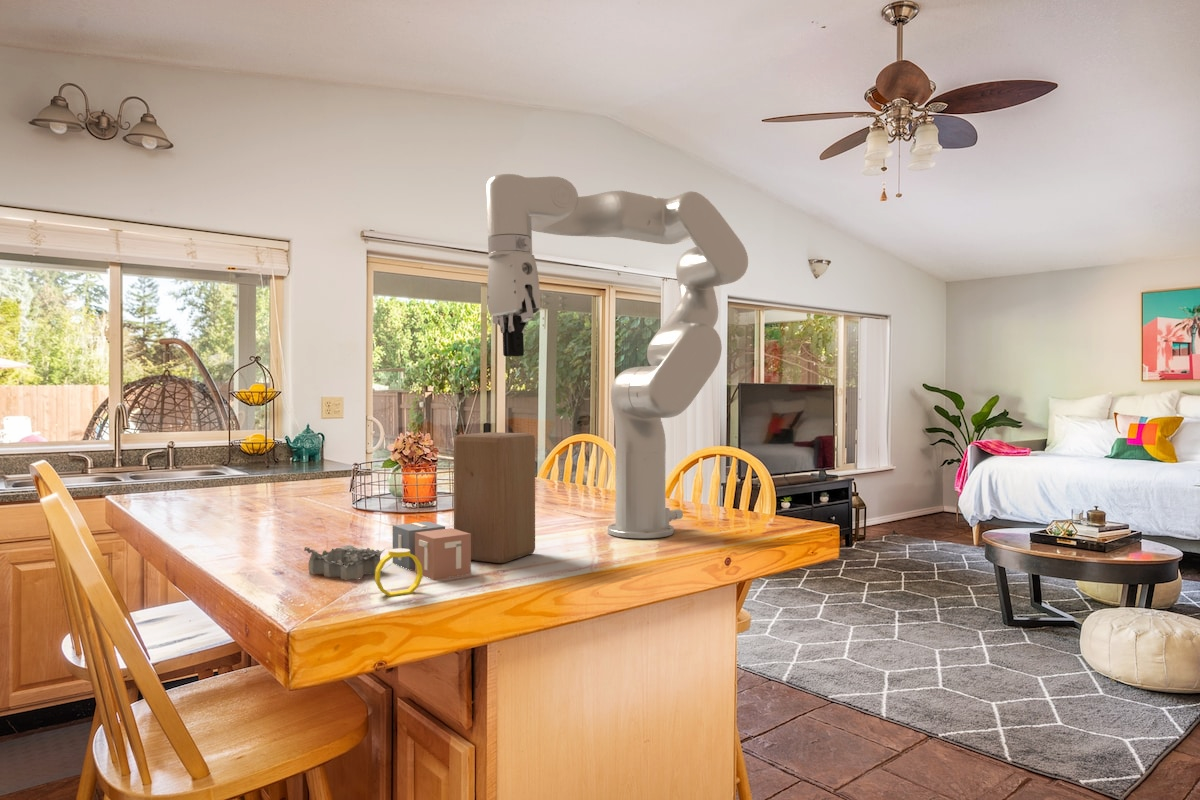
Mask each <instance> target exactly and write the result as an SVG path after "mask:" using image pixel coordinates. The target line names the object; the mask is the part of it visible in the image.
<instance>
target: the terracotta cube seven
mask: <svg viewBox="0 0 1200 800" xmlns="http://www.w3.org/2000/svg"><path fill="white" fill-rule="evenodd" d="M415 556H416V557H417V559H418V560H419V562H420V563H421V566H422V573H423V575H422V577H425V578H427V577H428V578H427V579H430V580H432V579H433V580H432V581H437V580H438V581H439V580H442V579H449V578H455V577H461V576H466V574H467V575H471V574H472V560H471V534H470V533H467V532H463V531H460V530H456V529H454V527H453V528H452V527H450V528H445V529H440V530H432V531H424V532H416V533H415ZM415 572H416V573H415ZM414 573H415V574H417V565H416V563H415V569H414ZM436 579H437V580H436Z"/></svg>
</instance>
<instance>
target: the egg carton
mask: <svg viewBox="0 0 1200 800" xmlns="http://www.w3.org/2000/svg"><path fill="white" fill-rule="evenodd" d="M385 550H386V548H384V549H383V550H379V549H376V550H375V549H373V548H372V549H371V548H369V547H367V548H366V549H365V548H357V547H355V546H354V545H350V544H348V545H344V546H340V547H338V548H337V547H336V548H331V550H330V551H327V550H323V551H322V553H319V552H317V550H316V549H313V548H312V549H311V548H310V547H308V546H306V547H304V549H303V551H304V552H307V554H310V556H309V559H308V574H309V575H318V574H319V575H322V574H323V576H324V577H327V578H332V577H340V580H343V579H348V580H360V579H363V578H364V576H365V575H364V574H366V575H375V570H376V567H377V565H378V564H379V562H380V560H381V554H382V553H384V551H385ZM343 564H344V565H343ZM362 577H363V578H362ZM359 578H360V579H359Z"/></svg>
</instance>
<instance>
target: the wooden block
mask: <svg viewBox="0 0 1200 800" xmlns="http://www.w3.org/2000/svg"><path fill="white" fill-rule="evenodd" d="M453 529H456V530H460V531H463V532H467V533H470V534H471V561H475V562H483V563H491V562H492V564H498V563H502V564H505V563H508V562H511V561H513V560H516V559H517V560H518V559H520V558H522V556H523V557H526V556H529V555H531V554H533V553H534V552H535V550H536V437H535V435H533V434H531V433H525V432H523V433H522V432H491V431H490V432H488V431H487V432H479V433H478V432H477V433H475V432H474V433H463V434H461V433H459V434H458V435H455V437H454V439H453Z"/></svg>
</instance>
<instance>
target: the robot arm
mask: <svg viewBox="0 0 1200 800" xmlns="http://www.w3.org/2000/svg"><path fill="white" fill-rule="evenodd" d="M485 191H486V216H487V218H486V219H487V220H486V221H487V248H488V267H487V270H488V271H487V280H486V281H487V282H486V283H487V284H486V285H487V291H486V294H487V295H486V300H487V311H488V313H489V315H491V316H492V323H493V324H495V325H498V326H499V329H500V333H501V334H502V351H503V352H502V355H503V356H504V357H524V353H525V352H524V351H525V349H524V347H525V346H524V333H525V332H526V326H527V325H526V324H527V322H529V321H531V320H533V319H534V314H537V313H539V311H540V310H541V292H540V282H539V281H540V280H539V272H538V266H537V261H536V257H535V255H534V254H533V237H532V236H533V235H532V234H533V232H538V233H542V234H549V235H555V236H563V237H565V236H566V237H588V238H589V237H592V238H617V239H618V238H619V239H627V240H634V241H640V242H646V243H652V244H661V245H674V244H679V243H681V242H685V241H689V240H692V242H693V244H694V245H695V247H692V248H690V249H688V250H685V251H684V252H683V253H682V254H681V256H680V257H679V258H678V261H677V263H676V267H675V274H676V280H677V284H678V287H679V300H678V303H677V305H676V306H675V308H674V309H673V311H672V313H670V315H669V316H668V317H667V319H666V320H665V321H664V323H663V324H662V325H661V326H660V328H659V329H658V330H657V332H656V333H655V334H654V336H653V337H652V339H651V341H650V342H649V344H648V346H647V351H646V359H647V361H648V364H649V365H646V366H642V365H641V366H634V367H629V368H627V369H624V370H623V371H621V372H620V373H619V374H618V375H617V376H616V377H615V379H614V380H613V382H612V385H611V388H610V403H611V408H612V413H613V420H614V421H613V422H614V433H615V435H614V436H615V456H614V457H615V460H614V461H615V471H614V472H615V479H614V481H615V523H612V524H609V525H607V529H606V530H607V533H608V534H609V535H611V536H614V537H617V538H625V539H658V538H665V537H666V538H667V537H669V536H671V535H673V534H674V532H675V530H674V529H675V528H674V526H673V525H671V524H670V522H672V520H673V521H675V520H681V519H682V518H683V517H684V513H683V510H682V509H680V508H679V509H678V508H677V509H672V510H670V508H669V507H666V448H667V445H666V433H665V428H664V425H663V422H662V419H669V418H674V417H676V416H679V415H680V414H682V413H683V412H684V411H686V409H688V407H689V406H690V405H691V404H692V402H693V401H694V400H695V398H696V397H697V395H698V394H699V393H700V392H701V390H702V389H703V387H704V386H705V384H706V383H707V382H708V380H709V379H710V378H711V376H712V375H713V373H714V372H715V370H716V368H717V367H718V364H719V362H720V359H721V356H722V348H723V347H722V345H723V344H722V339H721V337H720V334H719V333H718V331H717V330H716V329H715V328H714V327H715V325H716V324H717V321H718V319H719V307H718V300H717V296H716V291H715V287H719V286H724V285H728V284H732V283H735V282H737V281H739V280H740V279H741V278H743V276H745V274H746V273H747V270H748V267H749V256H748V253H747V250H746V248H745V246H744V244H743V242H742V241H741V240H740V238H739V237H738V235H737V234H736V233H735V231H734V230H733V228H732V227H731V226H730V225H729V224H728V222H727V221H726V219H725V218H724V217H723V215H722V214H721V213H720V211H719V210H718V209H717V208H716V207H715V205H714V204H713V203H712V202H710V200H709V199H708V198H706V197H705V196H704V195H702V194H701V193H699V192H697V191H686V192H683V193H680V194H678V195H676V196H673V197H671V198H664V197H663V198H661V197H657V196H651V195H646V194H641V193H636V192H632V191H631V192H630V191H625V190H612V191H611V190H610V191H603V192H600V193H596V194H592V195H585V196H579V193H578V191H577V188H576V187H575V186H574V184H573V183H572V182H571V181H569V180H568V179H565V178H563V177H561V176H554V175H553V176H532V177H531V176H529V177H525V176H522V175H519V174H515V173H503V174H496V175H494V176H491V177H490V178H489V179H488V180H487V182H486V190H485Z"/></svg>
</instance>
